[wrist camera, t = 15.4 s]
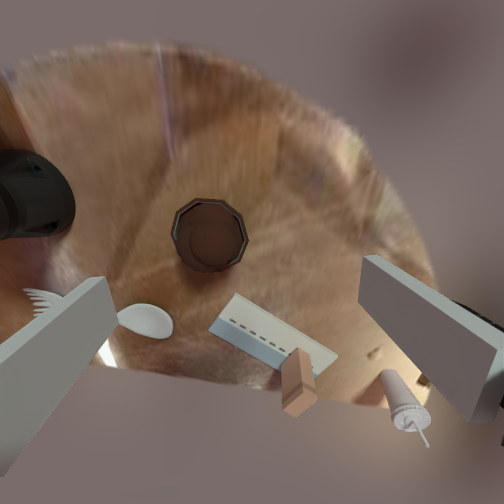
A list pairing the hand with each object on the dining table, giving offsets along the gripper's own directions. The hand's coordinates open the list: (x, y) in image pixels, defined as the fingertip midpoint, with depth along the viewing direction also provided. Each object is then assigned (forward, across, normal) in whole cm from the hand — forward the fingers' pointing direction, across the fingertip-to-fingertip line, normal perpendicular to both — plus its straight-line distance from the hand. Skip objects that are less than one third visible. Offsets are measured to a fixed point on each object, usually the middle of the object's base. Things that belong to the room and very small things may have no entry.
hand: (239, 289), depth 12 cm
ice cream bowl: (+30, -2, -3) cm, 31 cm away
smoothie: (+26, +30, -39) cm, 56 cm away
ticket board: (+30, +6, -30) cm, 42 cm away
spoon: (+36, -31, -22) cm, 52 cm away
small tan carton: (+27, +10, -33) cm, 44 cm away
